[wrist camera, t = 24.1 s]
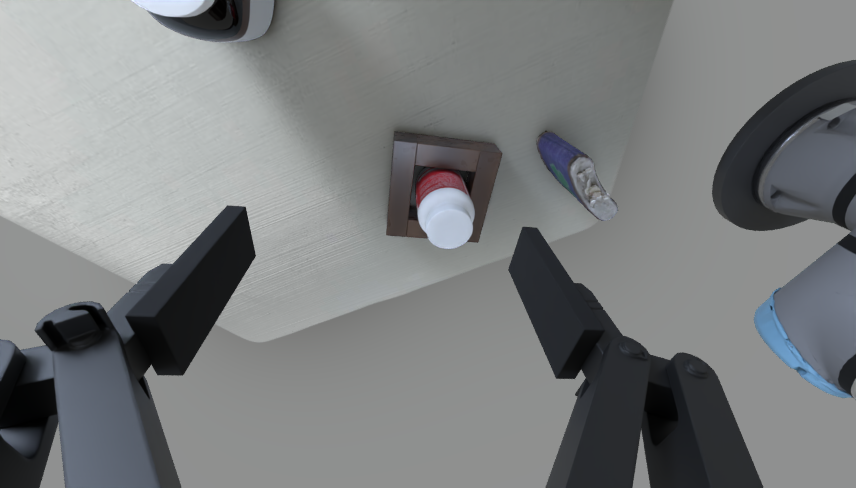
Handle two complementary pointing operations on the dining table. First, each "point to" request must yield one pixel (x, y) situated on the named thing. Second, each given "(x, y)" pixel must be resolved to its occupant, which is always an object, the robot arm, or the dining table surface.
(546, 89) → the dining table surface
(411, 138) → the socket base
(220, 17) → the spread jar
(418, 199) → the pill bottle
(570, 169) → the flask
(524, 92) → the dining table surface
